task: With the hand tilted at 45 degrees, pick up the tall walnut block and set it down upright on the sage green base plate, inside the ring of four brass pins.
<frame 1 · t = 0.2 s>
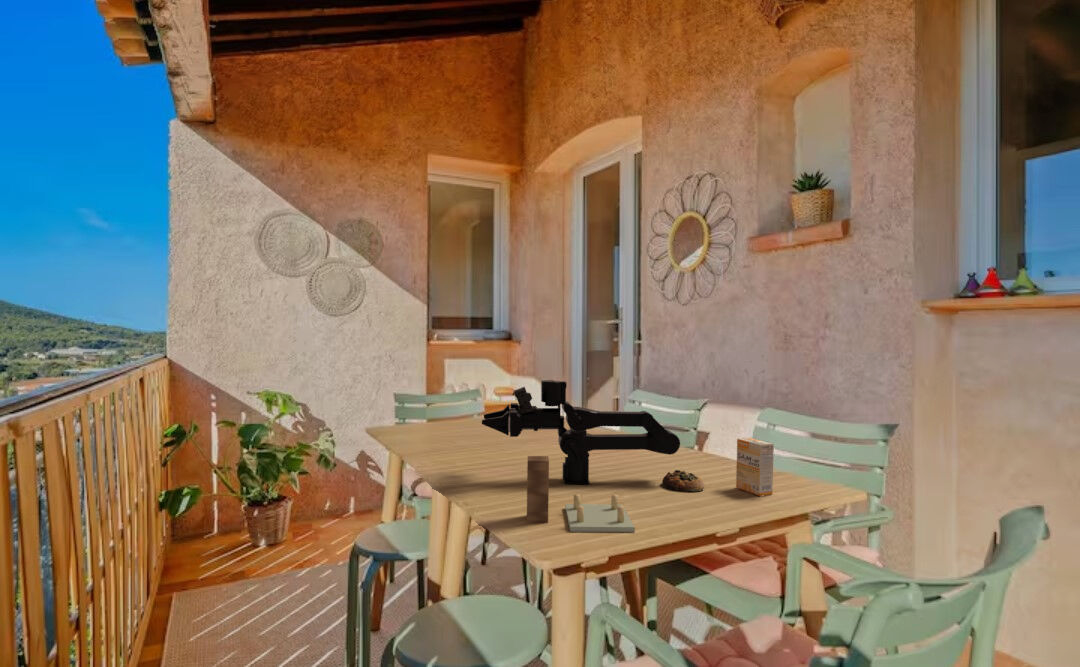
hand: (482, 419, 150), 17 cm above the table, fingers open, 9 cm apart
pin plate: (597, 519, 120), on the table
supplement box: (753, 492, 144), on the table
walnut block: (537, 519, 120), on the table
bread roll: (683, 488, 148), on the table
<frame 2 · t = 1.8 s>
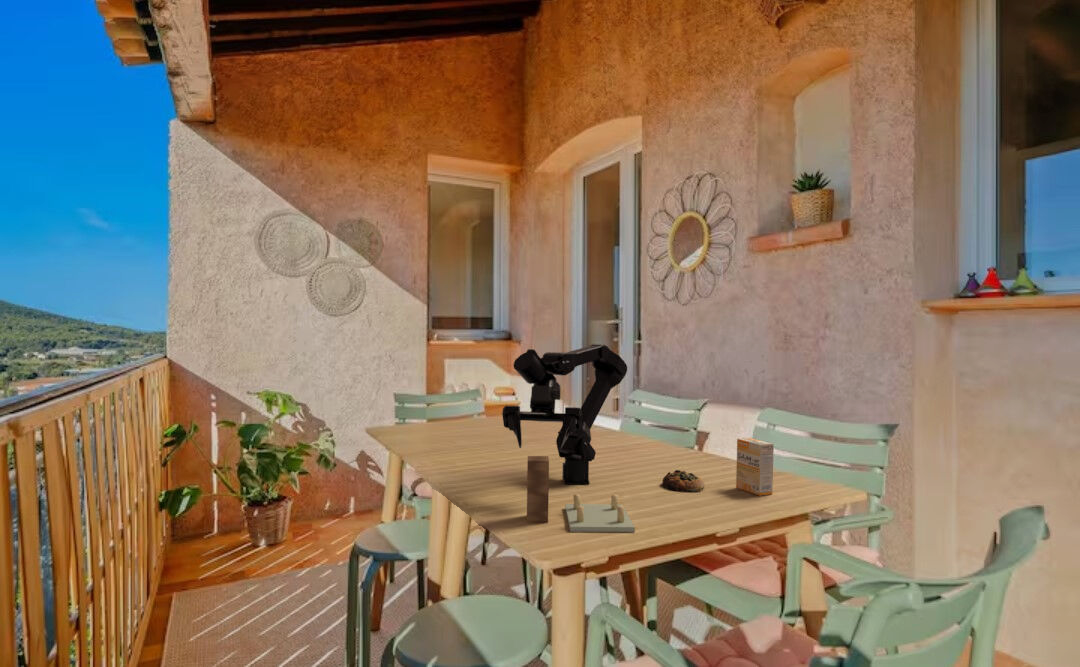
hand: (540, 447, 128), 14 cm above the table, fingers open, 9 cm apart
nothing on the table moved.
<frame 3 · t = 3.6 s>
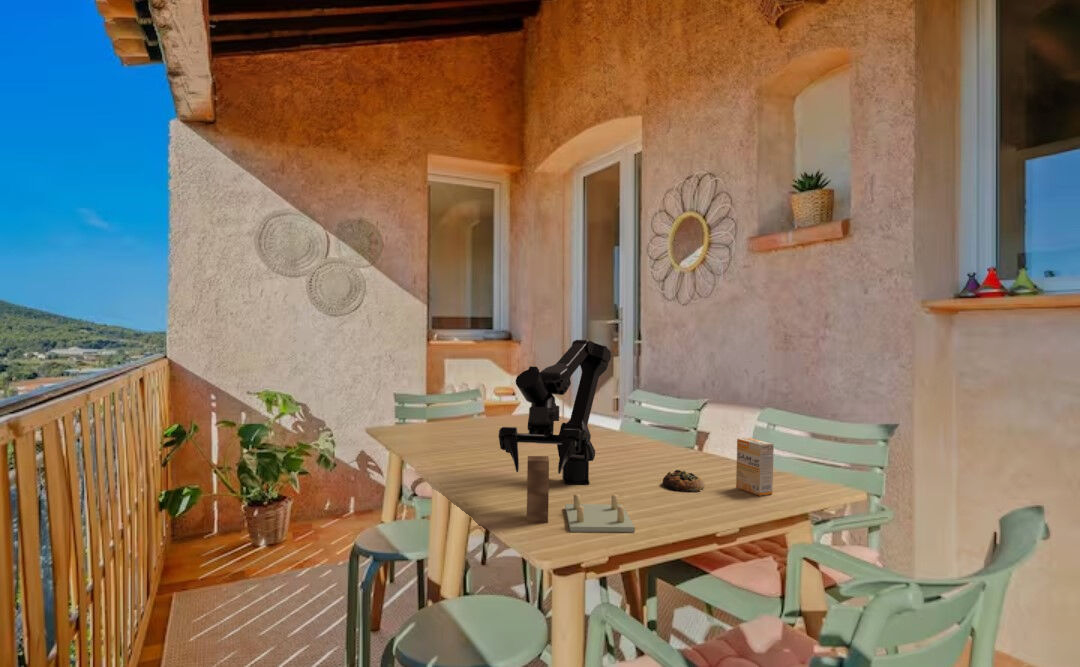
hand: (538, 471, 122), 10 cm above the table, fingers open, 9 cm apart
nothing on the table moved.
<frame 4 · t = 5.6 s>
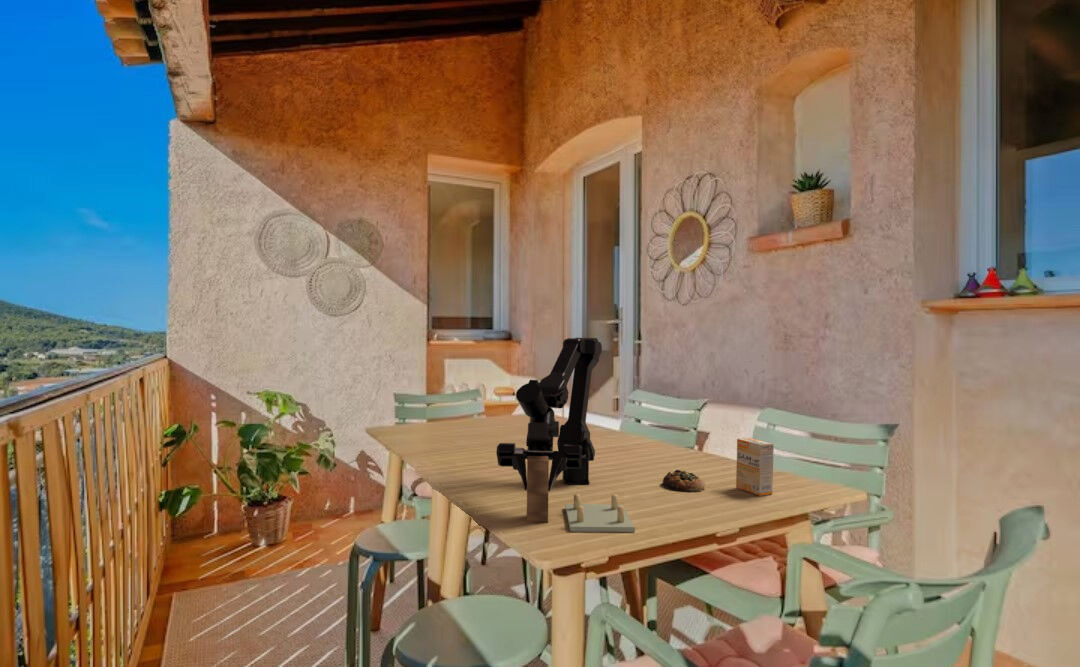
hand: (537, 490, 119), 7 cm above the table, fingers closed on walnut block, 5 cm apart
walnut block: (537, 519, 120), on the table, touching gripper
everything else where it was.
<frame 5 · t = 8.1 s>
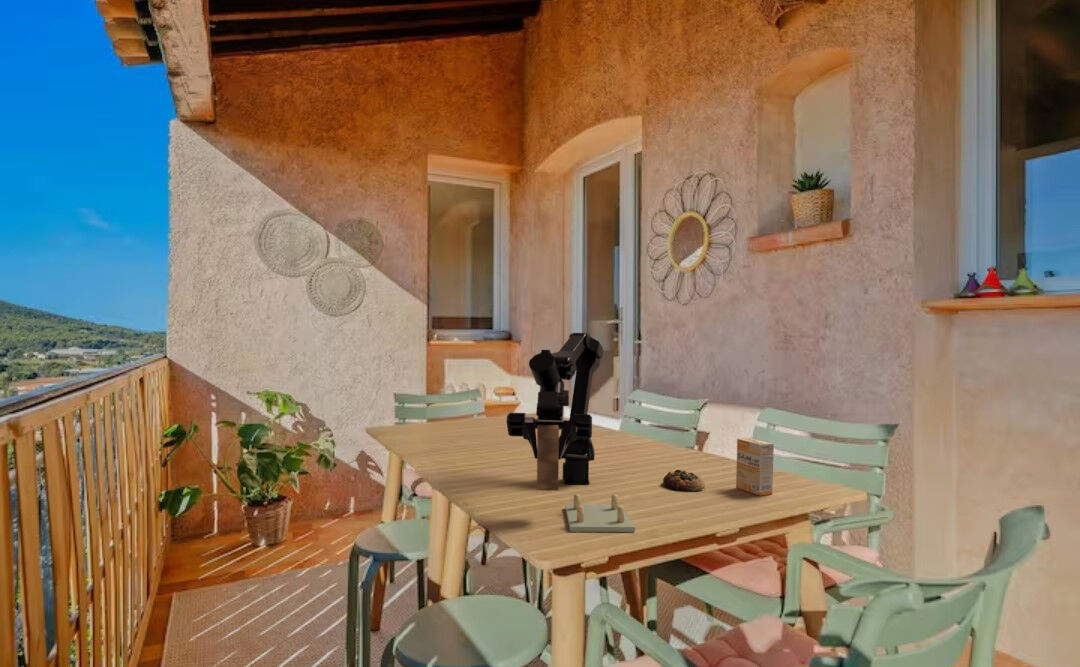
hand: (547, 458, 119), 13 cm above the table, fingers closed on walnut block, 5 cm apart
walnut block: (547, 487, 120), point 7 cm above the table, touching gripper
everything else where it was.
when the fingers open (9 cm above the table, at t = 10.8 s): walnut block drops 1 cm, resting on pin plate.
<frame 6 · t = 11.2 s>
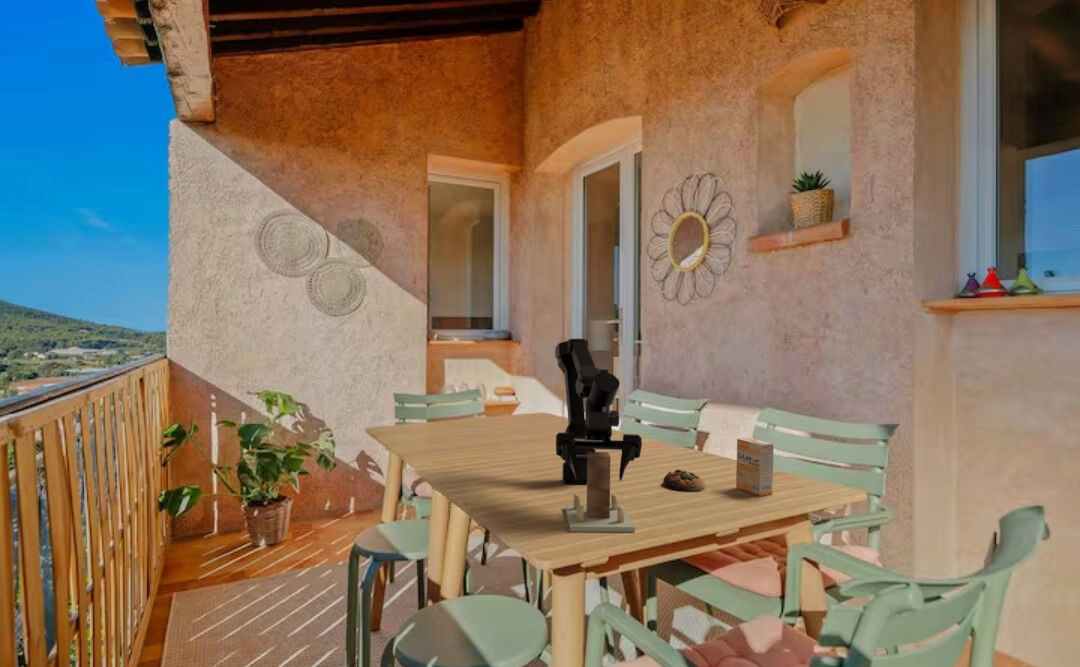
hand: (598, 478, 119), 9 cm above the table, fingers open, 9 cm apart
walnut block: (597, 514, 120), point 1 cm above the table, touching pin plate
everything else where it was.
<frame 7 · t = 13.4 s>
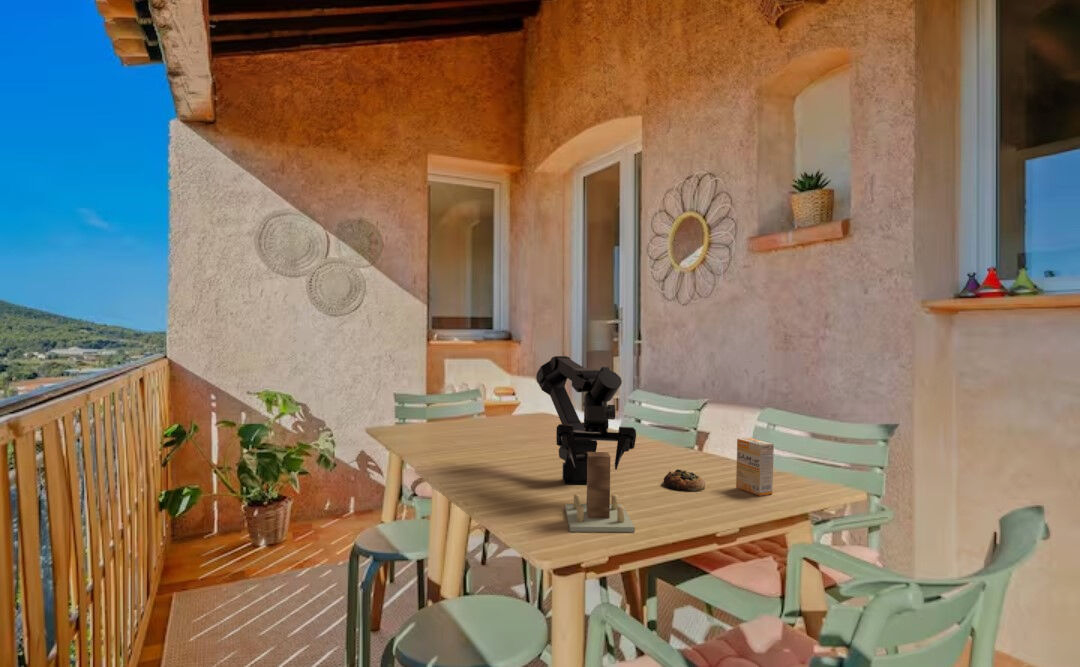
hand: (595, 467, 128), 9 cm above the table, fingers open, 9 cm apart
nothing on the table moved.
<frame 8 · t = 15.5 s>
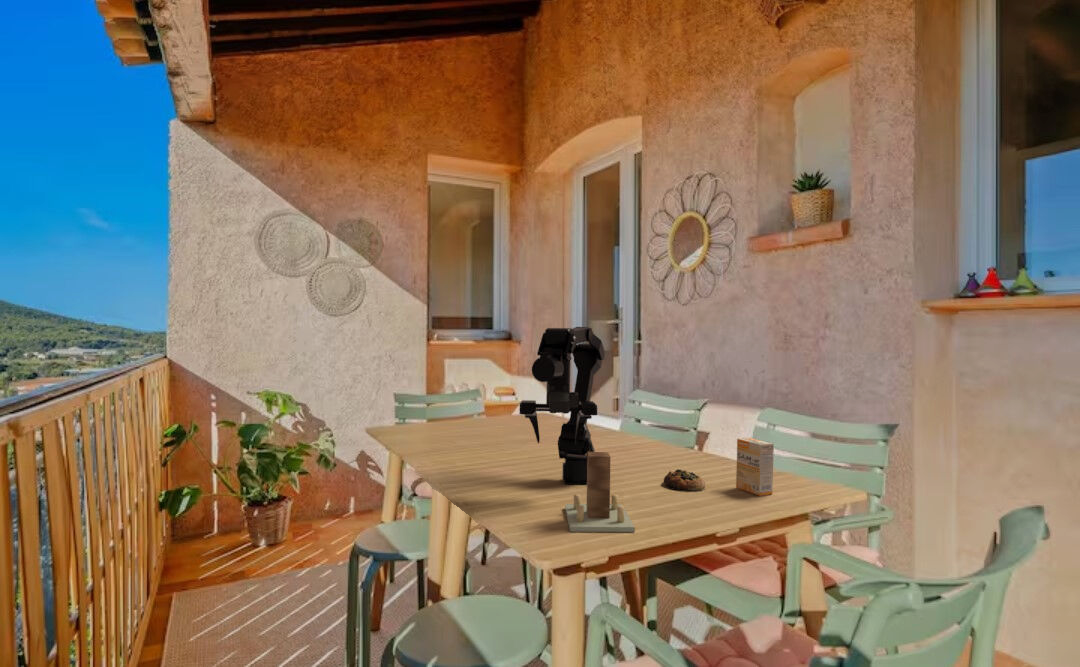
hand: (557, 443, 137), 13 cm above the table, fingers open, 9 cm apart
nothing on the table moved.
at the end: walnut block 0.0 cm off-centre on the pin plate, point 1.0 cm above the pin plate's base; walnut block tilted 0°; the gripper is holding nothing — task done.
